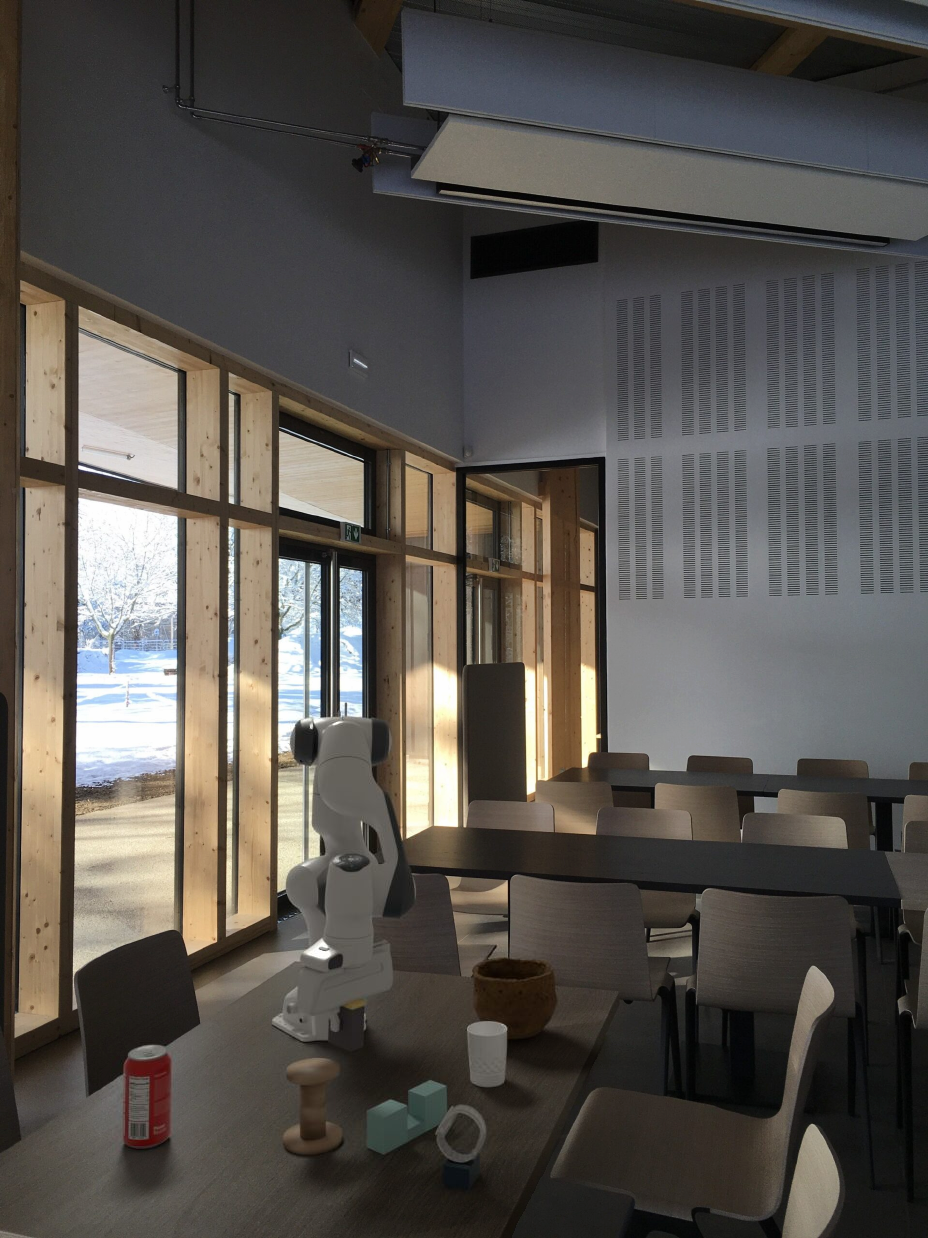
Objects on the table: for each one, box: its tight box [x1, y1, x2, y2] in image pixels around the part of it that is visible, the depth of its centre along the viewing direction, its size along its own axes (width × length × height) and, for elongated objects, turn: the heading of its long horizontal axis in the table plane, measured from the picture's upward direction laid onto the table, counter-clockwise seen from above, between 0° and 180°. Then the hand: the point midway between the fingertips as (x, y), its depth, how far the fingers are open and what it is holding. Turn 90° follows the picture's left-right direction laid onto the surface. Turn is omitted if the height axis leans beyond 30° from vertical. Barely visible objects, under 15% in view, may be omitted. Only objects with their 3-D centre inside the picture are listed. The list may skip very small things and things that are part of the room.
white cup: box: [466, 1021, 508, 1088], centre depth 190 cm, size 8×8×10 cm
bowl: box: [471, 956, 559, 1040], centre depth 214 cm, size 19×19×15 cm
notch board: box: [366, 1079, 448, 1155], centre depth 168 cm, size 4×16×6 cm, turn 140°
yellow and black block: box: [327, 999, 366, 1052], centre depth 173 cm, size 6×3×8 cm, turn 49°
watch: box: [434, 1104, 488, 1191], centre depth 153 cm, size 6×8×11 cm
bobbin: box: [282, 1057, 343, 1156], centre depth 166 cm, size 10×10×12 cm
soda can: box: [122, 1044, 173, 1150], centre depth 166 cm, size 8×8×15 cm
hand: (346, 1027), depth 173 cm, fingers closed on yellow and black block, 3 cm apart
